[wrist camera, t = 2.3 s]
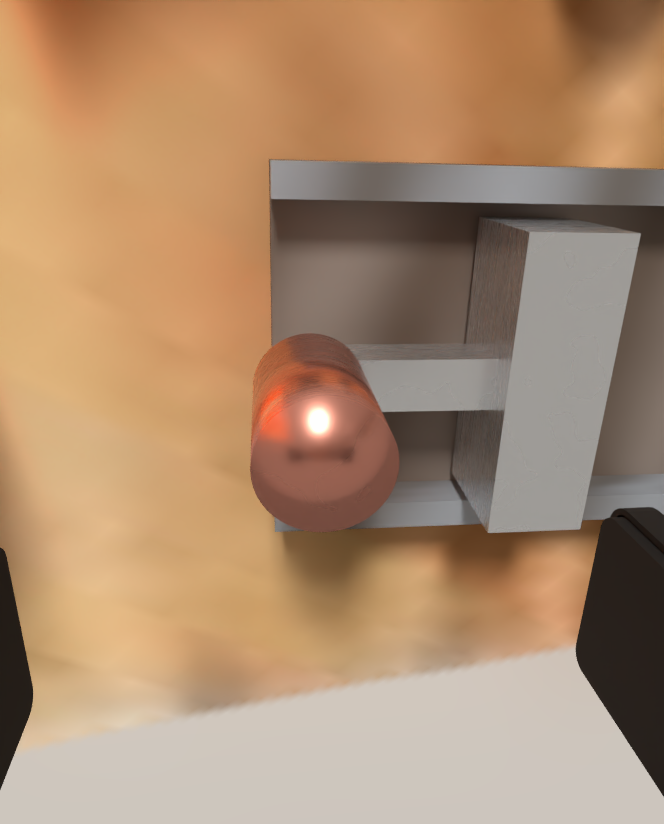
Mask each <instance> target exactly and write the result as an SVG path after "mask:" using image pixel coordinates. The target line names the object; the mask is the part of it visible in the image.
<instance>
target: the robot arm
mask: <svg viewBox="0 0 664 824" xmlns="http://www.w3.org/2000/svg"><path fill="white" fill-rule="evenodd" d="M576 657H577V661H578V664H579V667H580V669H581V671H582V672H583V674H584V675H585V677H586V678H587V680H588V681H589V683H590V684H591V686H592V687H593V689H594V691H595V692H596V694H597V695H598V697H599V698H600V700H601V701H602V703H603V704H604V706H605V707H606V709H607V710H608V712H609V714H610V715H611V716H612V718H613V720H614V721H615V723H616V724H617V726H618V727H619V729H620V730H621V732H622V733H623V735H624V736H625V738H626V739H627V741H628V743H629V744H630V746H631V747H632V749H633V750H634V752H635V753H636V755H637V756H638V758H639V759H640V761H641V762H642V764H643V765H644V767H645V769H646V770H647V772H648V773H649V775H650V776H651V778H652V779H653V781H654V782H655V784H656V785H657V787H658V788H659V790H660V791H661V793H662V795H663V796H664V515H663V514H662V513H661V512H660V511H658V510H657V509H655V508H653V507H638V508H618V509H616V510H614V512H613V513H612V514H611V516H610V518H606V519H605V520H604V521H603V523H602V525H601V529H600V534H599V539H598V544H597V548H596V553H595V558H594V563H593V567H592V572H591V577H590V582H589V586H588V591H587V596H586V601H585V605H584V610H583V615H582V620H581V624H580V629H579V634H578V639H577V643H576ZM32 702H33V686H32V681H31V676H30V671H29V666H28V661H27V656H26V651H25V646H24V641H23V636H22V631H21V626H20V621H19V616H18V611H17V606H16V602H15V597H14V592H13V587H12V582H11V577H10V572H9V567H8V562H7V557H6V554H5V551H4V550H3V549H2V548H0V789H1V786H2V784H3V782H4V779H5V776H6V774H7V771H8V769H9V766H10V764H11V761H12V759H13V756H14V754H15V751H16V748H17V746H18V743H19V741H20V738H21V736H22V733H23V731H24V728H25V726H26V723H27V720H28V718H29V715H30V712H31V708H32Z"/></svg>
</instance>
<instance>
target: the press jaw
mask: <svg viewBox="0 0 664 824" xmlns="http://www.w3.org/2000/svg"><path fill="white" fill-rule="evenodd" d="M640 236H641V233H637V232H632V231H628V230H623V229H618V228H614V227H609V226H604V225H600V224H595V223H591V222H586V221H581V220H577V219H572V218H522V217H479V225H478V234H477V244H476V253H475V262H474V271H473V280H472V289H471V299H470V308H469V317H468V326H467V335H466V344H353V345H344V344H343V343H341V342H340V341H338V340H336V339H334V338H332V337H329V336H326V335H321V334H313V333H307V334H299V335H294V336H291V337H288V338H286V339H284V340H282V341H280V342H279V343H277V344H276V345H274V346H273V347H272V348H271V349H270V350H269V351H268V352H267V353H266V354H265V355H264V356H263V358H262V359H261V361H260V363H259V365H258V367H257V369H256V372H255V375H254V381H253V406H252V436H251V466H250V472H251V480H252V484H253V488H254V490H255V493H256V495H257V497H258V499H259V500H260V502H261V503H262V505H263V506H264V507H265V508H266V510H267V511H269V512H270V513H271V514H272V515H273V516H274V517H276V518H277V519H278V520H280V521H281V522H283V523H285V524H287V525H289V526H292V527H294V528H297V529H301V530H305V531H311V532H332V531H338V530H342V529H346V528H349V527H352V526H354V525H356V524H358V523H360V522H362V521H364V520H366V519H367V518H369V517H370V516H371V515H373V514H374V513H375V512H376V511H377V510H378V509H379V508H380V507H381V506H382V505H383V504H384V503H385V502H386V500H387V499H388V497H389V496H390V494H391V493H392V491H393V488H394V486H395V484H396V481H397V477H398V473H399V452H398V447H397V444H396V441H395V438H394V436H393V434H392V432H391V430H390V428H389V426H388V423H387V421H386V419H385V417H384V415H383V413H382V412H406V411H458V418H457V427H456V436H455V445H454V454H453V464H452V474H453V475H454V477H455V479H456V480H457V482H458V484H459V486H460V487H461V489H462V491H463V492H464V494H465V496H466V497H467V499H468V501H469V502H470V504H471V506H472V507H473V509H474V511H475V512H476V514H477V516H478V518H479V519H480V521H481V523H482V524H483V526H484V528H485V529H486V531H487V533H501V532H527V531H552V530H577V529H580V528H581V523H582V518H583V513H584V509H585V504H586V499H587V494H588V489H589V484H590V479H591V474H592V470H593V465H594V460H595V455H596V450H597V445H598V440H599V436H600V431H601V426H602V421H603V416H604V411H605V406H606V401H607V397H608V392H609V387H610V382H611V377H612V372H613V367H614V362H615V358H616V353H617V348H618V343H619V338H620V333H621V328H622V324H623V319H624V314H625V309H626V304H627V299H628V294H629V289H630V285H631V280H632V275H633V270H634V265H635V260H636V255H637V251H638V246H639V241H640Z"/></svg>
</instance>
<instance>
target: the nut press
mask: <svg viewBox="0 0 664 824" xmlns="http://www.w3.org/2000/svg"><path fill="white" fill-rule="evenodd" d="M269 182H270V258H271V333H272V347H273V346H274V345H276V344H277V343H279V342H280V341H282V340H284V339H286V338H288V337H291V336H294V335H299V334H307V333H313V334H321V335H326V336H329V337H332V338H334V339H336V340H338V341H340V342H341V343H343V344H344V345H353V344H466V335H467V326H468V317H469V308H470V299H471V289H472V280H473V271H474V262H475V253H476V244H477V234H478V225H479V217H522V218H572V219H577V220H581V221H586V222H591V223H595V224H600V225H604V226H609V227H614V228H618V229H623V230H628V231H632V232H637V233H641V236H640V241H639V246H638V251H637V255H636V260H635V265H634V270H633V275H632V280H631V285H630V289H629V294H628V299H627V304H626V309H625V314H624V319H623V324H622V328H621V333H620V338H619V343H618V348H617V353H616V358H615V362H614V367H613V372H612V377H611V382H610V387H609V392H608V397H607V401H606V406H605V411H604V416H603V421H602V426H601V431H600V436H599V440H598V445H597V450H596V455H595V460H594V465H593V470H592V474H591V479H590V484H589V489H588V494H587V499H586V504H585V509H584V513H583V518H582V520H601V519H606V518H610V516H611V514H612V513H613V512H614V510H616V509H618V508H638V507H653V508H655V509H657V510H658V511H660V512H661V513H662V514H663V515H664V169H642V168H601V167H561V166H520V165H480V164H439V163H398V162H358V161H317V160H277V159H269ZM382 413H383V415H384V417H385V419H386V421H387V423H388V426H389V428H390V430H391V432H392V434H393V436H394V438H395V441H396V444H397V447H398V452H399V473H398V477H397V481H396V484H395V486H394V488H393V491H392V493H391V494H390V496H389V497H388V499H387V500H386V502H385V503H384V504H383V505H382V506H381V507H380V508H379V509H378V510H377V511H376V512H375V513H374V514H373V515H371V516H370V517H369V518H367V519H366V520H364V521H362V522H360V523H358V524H356V525H354V526H352V527H349V528H346V529H363V528H389V527H416V526H442V525H468V524H482V523H481V521H480V519H479V518H478V516H477V514H476V512H475V511H474V509H473V507H472V506H471V504H470V502H469V501H468V499H467V497H466V496H465V494H464V492H463V491H462V489H461V487H460V486H459V484H458V482H457V480H456V479H455V477H454V475H453V474H452V464H453V454H454V445H455V436H456V427H457V418H458V411H406V412H382ZM283 531H305V530H301V529H297V528H294V527H292V526H289V525H287V524H285V523H283V522H281V521H280V520H278V519H277V518H276V517H275V532H283Z"/></svg>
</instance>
